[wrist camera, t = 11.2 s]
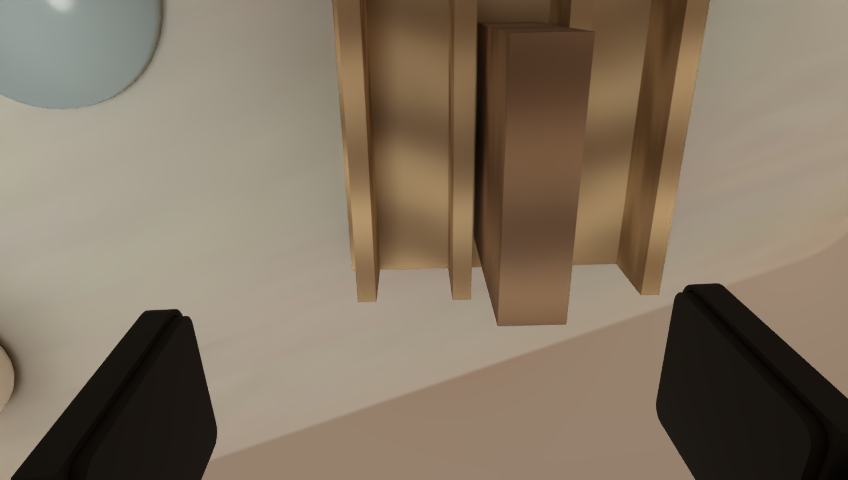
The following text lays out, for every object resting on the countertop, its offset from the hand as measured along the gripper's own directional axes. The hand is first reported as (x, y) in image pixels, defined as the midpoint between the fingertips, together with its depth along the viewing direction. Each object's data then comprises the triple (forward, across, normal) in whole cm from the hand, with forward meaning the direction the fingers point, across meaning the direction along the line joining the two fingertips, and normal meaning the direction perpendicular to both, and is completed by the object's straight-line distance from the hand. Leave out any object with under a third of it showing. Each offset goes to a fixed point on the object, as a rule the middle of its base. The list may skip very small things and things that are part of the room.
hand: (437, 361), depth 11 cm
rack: (+23, -5, +1) cm, 23 cm away
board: (+22, -5, +1) cm, 22 cm away
